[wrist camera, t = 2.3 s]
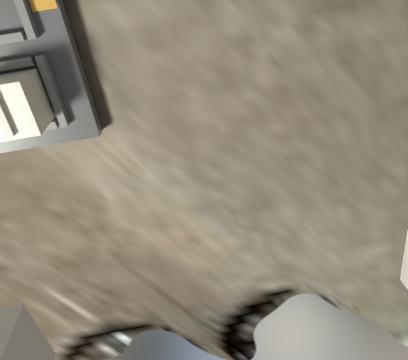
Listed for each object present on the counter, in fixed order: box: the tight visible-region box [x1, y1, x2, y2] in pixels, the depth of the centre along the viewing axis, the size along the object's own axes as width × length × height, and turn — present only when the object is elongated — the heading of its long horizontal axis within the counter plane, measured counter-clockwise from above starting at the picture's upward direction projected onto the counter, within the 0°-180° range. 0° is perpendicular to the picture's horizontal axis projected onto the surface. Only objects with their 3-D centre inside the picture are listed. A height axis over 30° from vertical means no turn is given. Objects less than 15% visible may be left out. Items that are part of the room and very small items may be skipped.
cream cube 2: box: [0, 68, 55, 142], centre depth 27 cm, size 4×4×4 cm
